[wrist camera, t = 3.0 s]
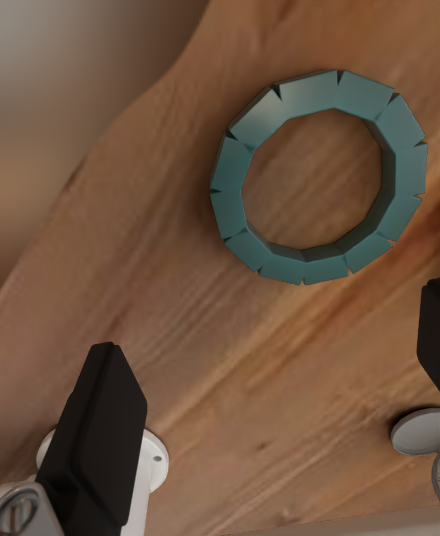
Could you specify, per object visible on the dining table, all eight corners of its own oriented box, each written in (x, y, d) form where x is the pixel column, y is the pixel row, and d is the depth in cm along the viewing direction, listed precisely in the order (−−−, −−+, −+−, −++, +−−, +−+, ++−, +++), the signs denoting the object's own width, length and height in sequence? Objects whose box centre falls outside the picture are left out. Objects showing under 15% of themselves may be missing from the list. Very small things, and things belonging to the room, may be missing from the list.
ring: (234, 286, 26) (236, 300, 25) (189, 104, 20) (187, 107, 18) (407, 249, 25) (421, 261, 24) (415, 45, 19) (434, 43, 18)
